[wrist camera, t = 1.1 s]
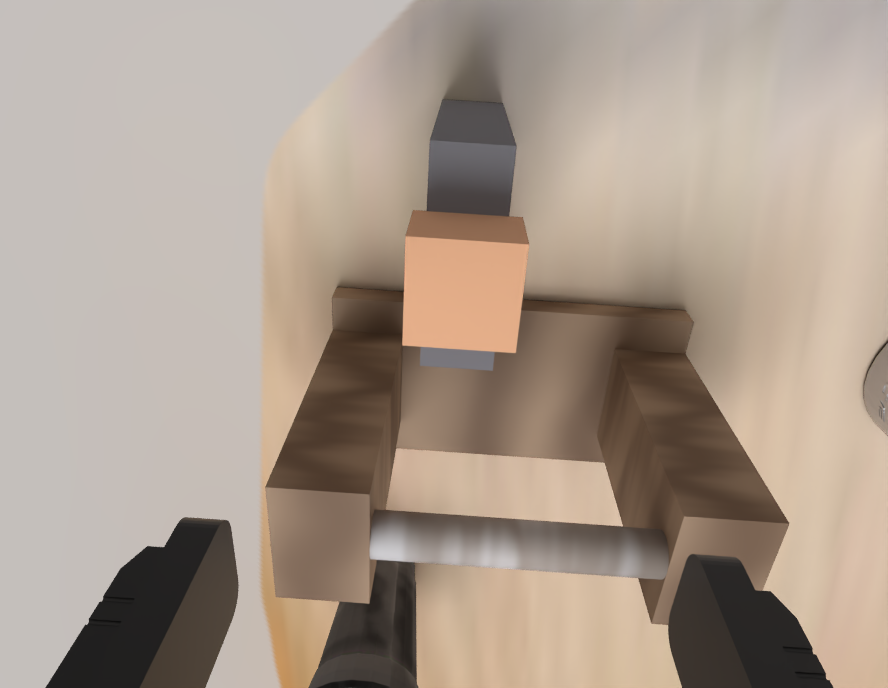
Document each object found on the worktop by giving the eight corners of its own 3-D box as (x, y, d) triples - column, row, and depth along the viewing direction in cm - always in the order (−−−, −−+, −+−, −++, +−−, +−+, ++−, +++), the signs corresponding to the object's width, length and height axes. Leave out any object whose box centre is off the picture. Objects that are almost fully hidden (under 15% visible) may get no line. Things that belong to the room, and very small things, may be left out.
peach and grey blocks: (512, 103, 32) (538, 166, 20) (496, 273, 36) (508, 412, 24) (432, 98, 32) (407, 157, 20) (424, 268, 36) (400, 405, 24)
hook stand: (685, 310, 37) (806, 482, 24) (649, 451, 41) (733, 661, 28) (337, 287, 37) (261, 444, 24) (340, 429, 42) (278, 628, 28)
